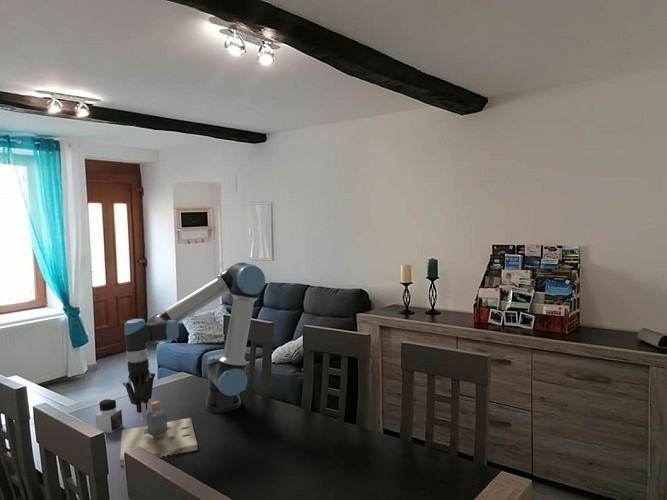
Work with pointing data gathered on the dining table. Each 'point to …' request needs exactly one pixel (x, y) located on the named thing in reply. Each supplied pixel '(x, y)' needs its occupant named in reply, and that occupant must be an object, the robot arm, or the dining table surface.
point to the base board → (161, 439)
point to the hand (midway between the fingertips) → (143, 419)
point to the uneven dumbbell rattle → (156, 420)
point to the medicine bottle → (109, 416)
